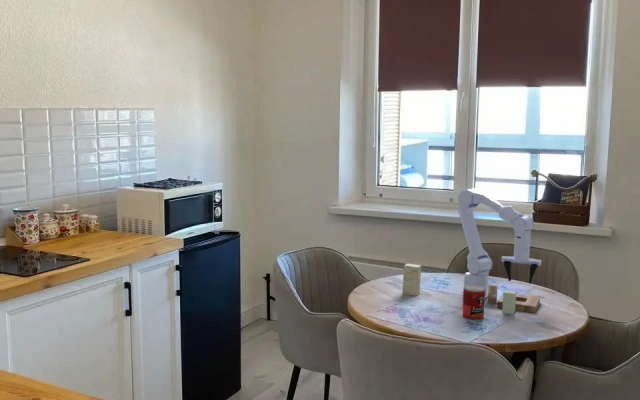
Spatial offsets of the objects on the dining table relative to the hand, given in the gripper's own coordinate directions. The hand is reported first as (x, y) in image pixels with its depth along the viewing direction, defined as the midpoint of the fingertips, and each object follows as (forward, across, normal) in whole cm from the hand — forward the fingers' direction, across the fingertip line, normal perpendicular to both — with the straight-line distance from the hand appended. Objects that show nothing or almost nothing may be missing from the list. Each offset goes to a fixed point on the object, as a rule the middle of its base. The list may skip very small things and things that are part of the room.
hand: (520, 281), depth 237 cm
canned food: (+10, -13, -22) cm, 27 cm away
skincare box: (+10, -42, -5) cm, 43 cm away
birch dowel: (+9, -10, -1) cm, 14 cm away
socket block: (+9, 0, 0) cm, 9 cm away
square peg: (+10, -2, -11) cm, 15 cm away
